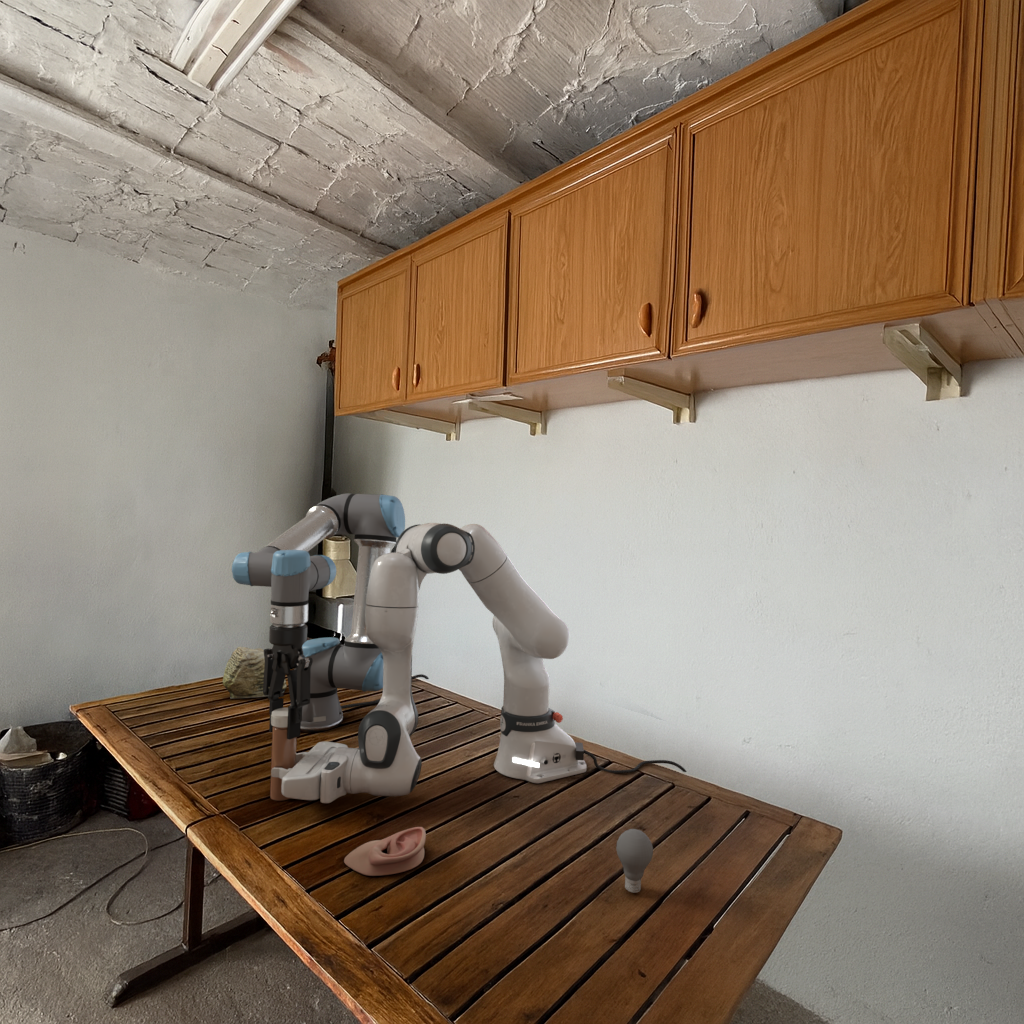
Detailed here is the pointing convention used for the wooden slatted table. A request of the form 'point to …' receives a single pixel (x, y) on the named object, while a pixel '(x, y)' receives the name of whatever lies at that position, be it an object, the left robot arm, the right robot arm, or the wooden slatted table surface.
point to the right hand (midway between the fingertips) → (279, 764)
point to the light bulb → (634, 857)
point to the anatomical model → (389, 853)
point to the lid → (279, 717)
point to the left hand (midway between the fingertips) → (284, 733)
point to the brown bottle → (281, 758)
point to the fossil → (246, 673)
